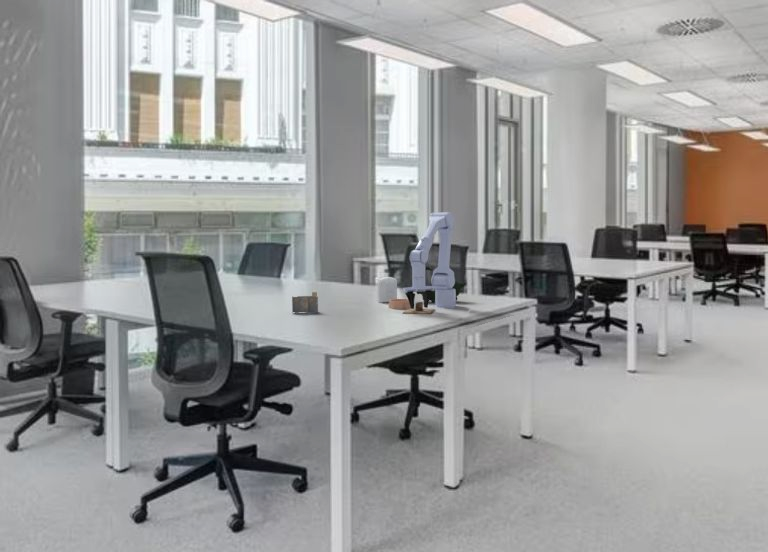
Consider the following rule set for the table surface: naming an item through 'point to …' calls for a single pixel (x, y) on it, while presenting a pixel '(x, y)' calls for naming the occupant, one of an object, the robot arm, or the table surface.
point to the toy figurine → (456, 286)
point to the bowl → (399, 304)
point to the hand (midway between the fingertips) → (419, 308)
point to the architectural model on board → (305, 303)
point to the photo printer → (387, 289)
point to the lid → (418, 309)
